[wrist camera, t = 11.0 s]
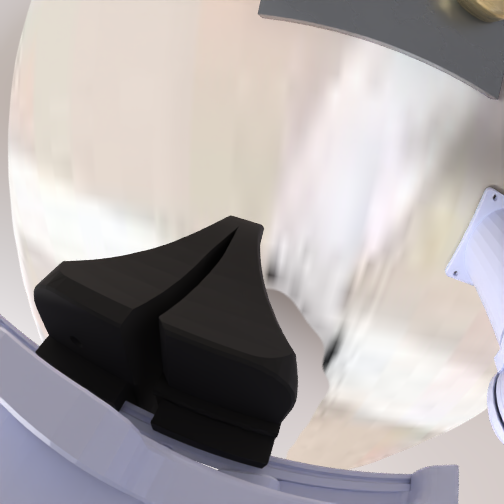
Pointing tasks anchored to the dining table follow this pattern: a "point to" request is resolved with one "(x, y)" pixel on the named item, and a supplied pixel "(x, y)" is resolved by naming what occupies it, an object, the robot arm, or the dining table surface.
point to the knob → (484, 9)
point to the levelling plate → (411, 33)
